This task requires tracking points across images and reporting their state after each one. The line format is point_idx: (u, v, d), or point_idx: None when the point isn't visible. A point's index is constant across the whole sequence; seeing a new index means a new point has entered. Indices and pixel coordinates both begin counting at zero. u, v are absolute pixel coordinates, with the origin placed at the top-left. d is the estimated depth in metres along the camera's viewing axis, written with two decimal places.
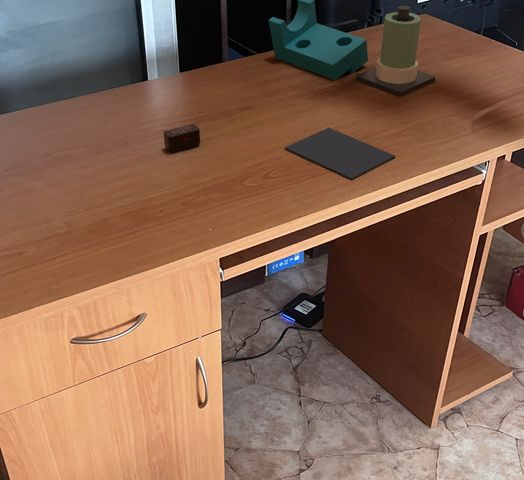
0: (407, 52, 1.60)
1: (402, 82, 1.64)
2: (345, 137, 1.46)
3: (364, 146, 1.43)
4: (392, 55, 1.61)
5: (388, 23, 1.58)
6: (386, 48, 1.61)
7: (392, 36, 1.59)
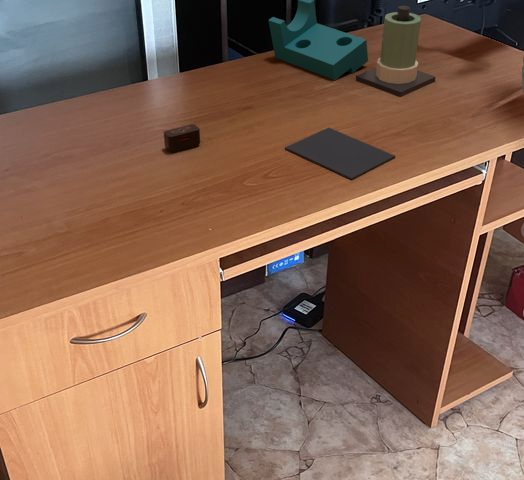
0: (407, 52, 1.60)
1: (402, 82, 1.64)
2: (345, 137, 1.46)
3: (364, 146, 1.43)
4: (392, 55, 1.61)
5: (388, 23, 1.58)
6: (386, 48, 1.61)
7: (392, 36, 1.59)
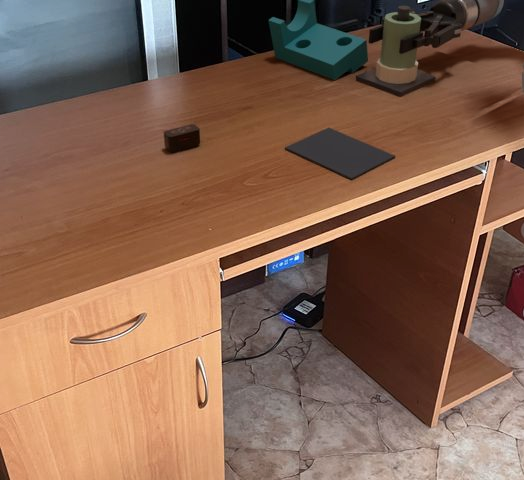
0: (407, 52, 1.60)
1: (402, 82, 1.64)
2: (345, 137, 1.46)
3: (364, 146, 1.43)
4: (392, 55, 1.61)
5: (388, 23, 1.58)
6: (386, 48, 1.61)
7: (392, 36, 1.59)
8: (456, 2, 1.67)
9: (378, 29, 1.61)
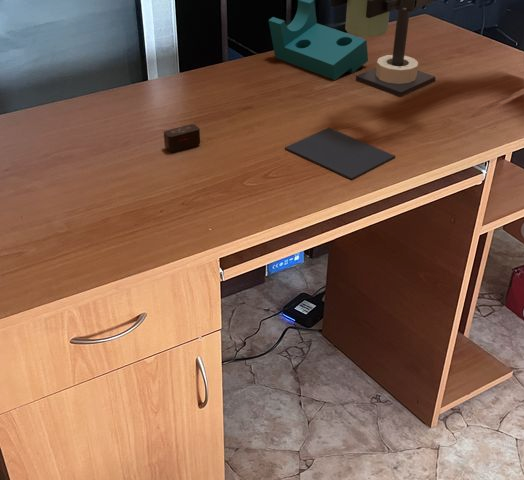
0: (376, 17, 1.33)
1: (402, 82, 1.64)
2: (345, 137, 1.46)
3: (364, 146, 1.43)
4: (358, 20, 1.33)
5: None
6: (352, 12, 1.34)
7: None
8: None
9: None
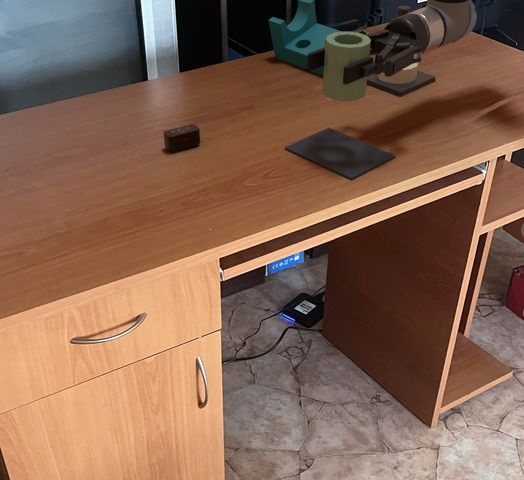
0: (354, 82, 1.30)
1: (402, 82, 1.64)
2: (345, 137, 1.46)
3: (364, 146, 1.43)
4: (335, 85, 1.30)
5: (329, 46, 1.27)
6: (328, 76, 1.31)
7: (335, 62, 1.28)
8: (417, 19, 1.37)
9: (318, 53, 1.31)
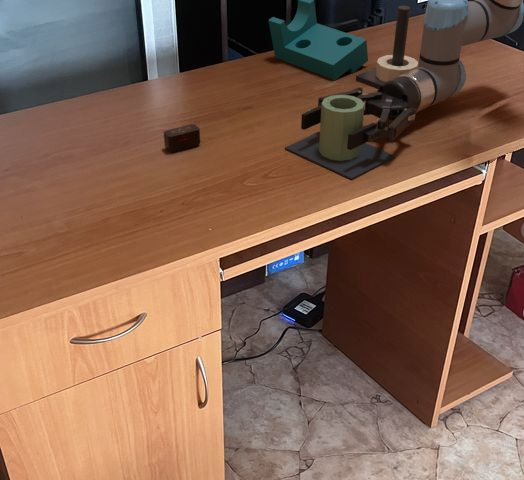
0: None
1: None
2: None
3: (364, 146, 1.43)
4: (331, 145, 1.38)
5: (325, 110, 1.35)
6: (324, 137, 1.38)
7: (330, 125, 1.35)
8: (408, 82, 1.44)
9: (312, 113, 1.39)
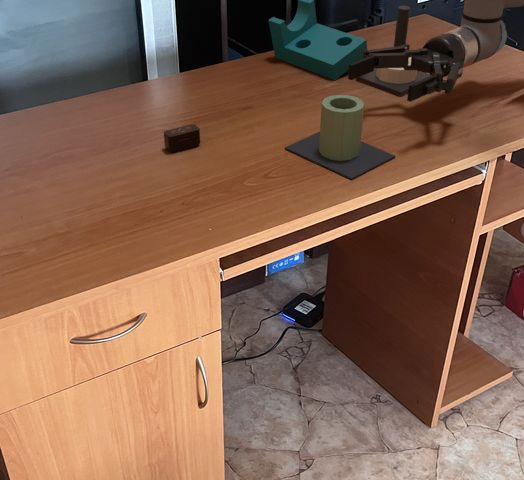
0: (348, 143, 1.37)
1: (402, 82, 1.64)
2: None
3: (364, 146, 1.43)
4: (331, 145, 1.38)
5: (325, 110, 1.35)
6: (324, 137, 1.38)
7: (330, 125, 1.35)
8: (453, 38, 1.48)
9: (359, 64, 1.44)
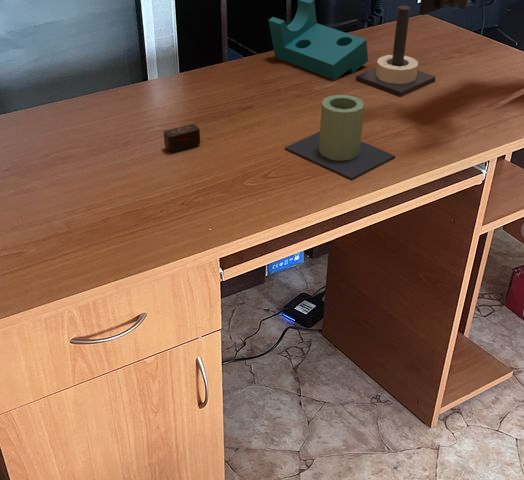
0: (348, 143, 1.37)
1: (402, 82, 1.64)
2: None
3: (364, 146, 1.43)
4: (331, 145, 1.38)
5: (325, 110, 1.35)
6: (324, 137, 1.38)
7: (330, 125, 1.35)
8: None
9: None
